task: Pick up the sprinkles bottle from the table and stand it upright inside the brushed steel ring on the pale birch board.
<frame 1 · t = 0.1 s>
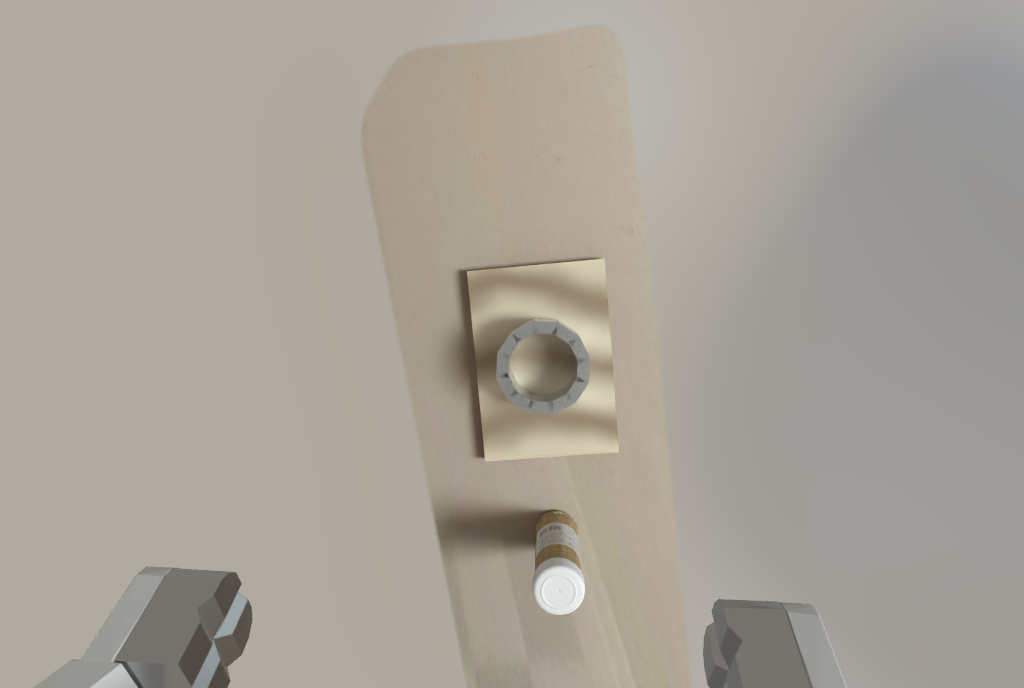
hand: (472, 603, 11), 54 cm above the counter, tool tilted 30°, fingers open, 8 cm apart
birch board: (543, 360, 65), on the counter
steel ring: (543, 362, 63), resting on birch board
sprinkles bottle: (556, 528, 67), on the counter
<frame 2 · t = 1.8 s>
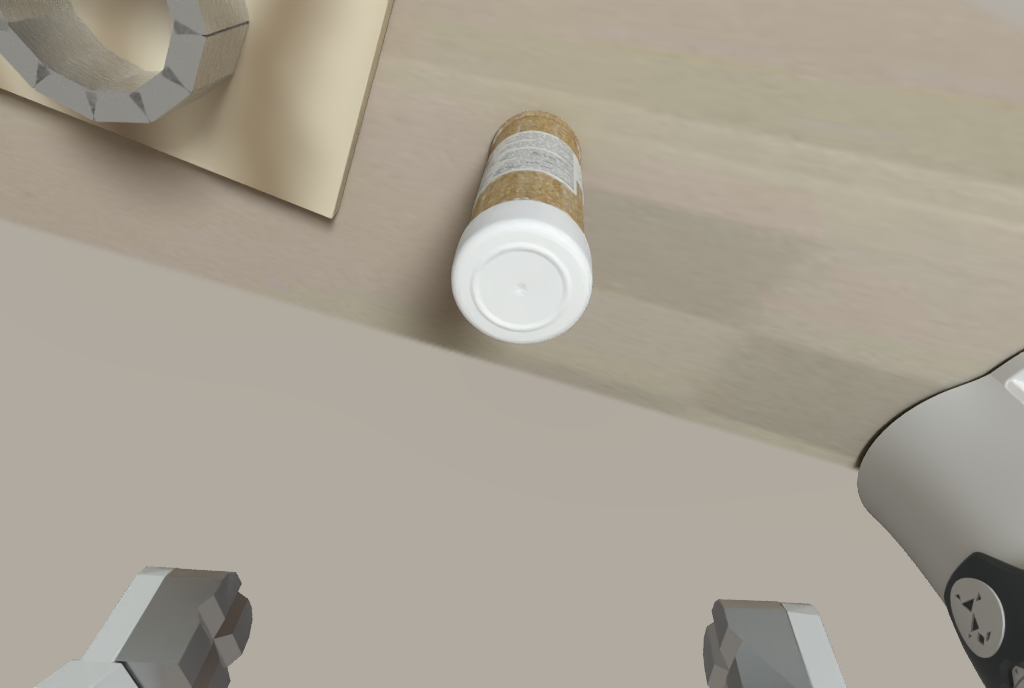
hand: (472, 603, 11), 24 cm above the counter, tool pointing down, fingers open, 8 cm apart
sprinkles bottle: (535, 153, 31), on the counter
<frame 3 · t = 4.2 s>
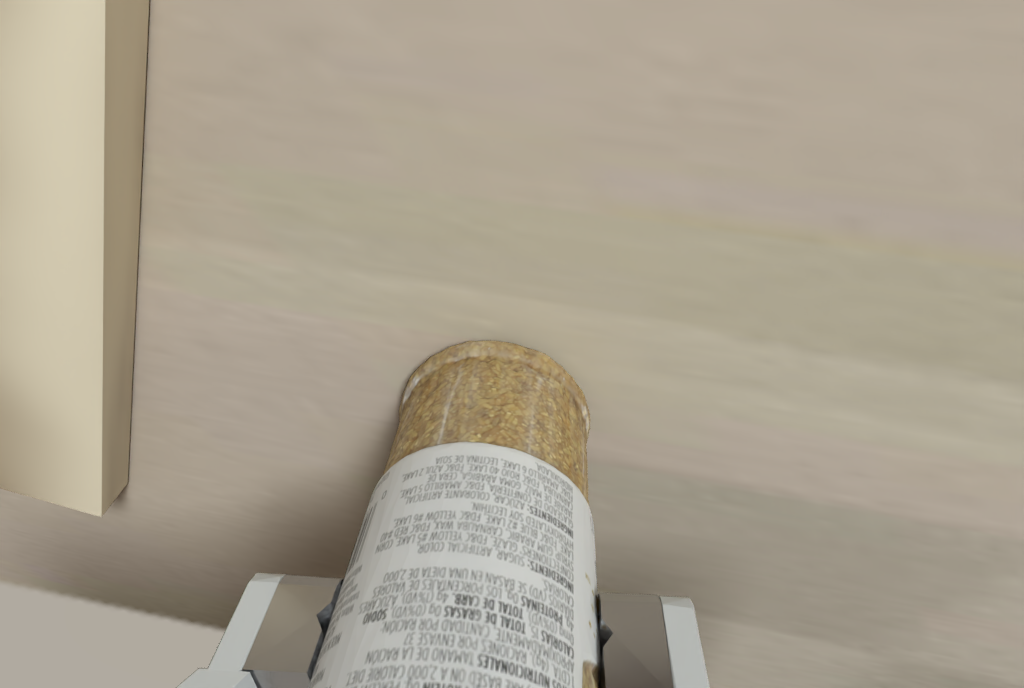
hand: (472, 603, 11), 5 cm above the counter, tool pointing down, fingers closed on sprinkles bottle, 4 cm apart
sprinkles bottle: (496, 403, 15), on the counter, touching gripper
when the fingers open (8 cm above the counter, at t = 10.7 s): sprinkles bottle moves 1 cm, resting on birch board.
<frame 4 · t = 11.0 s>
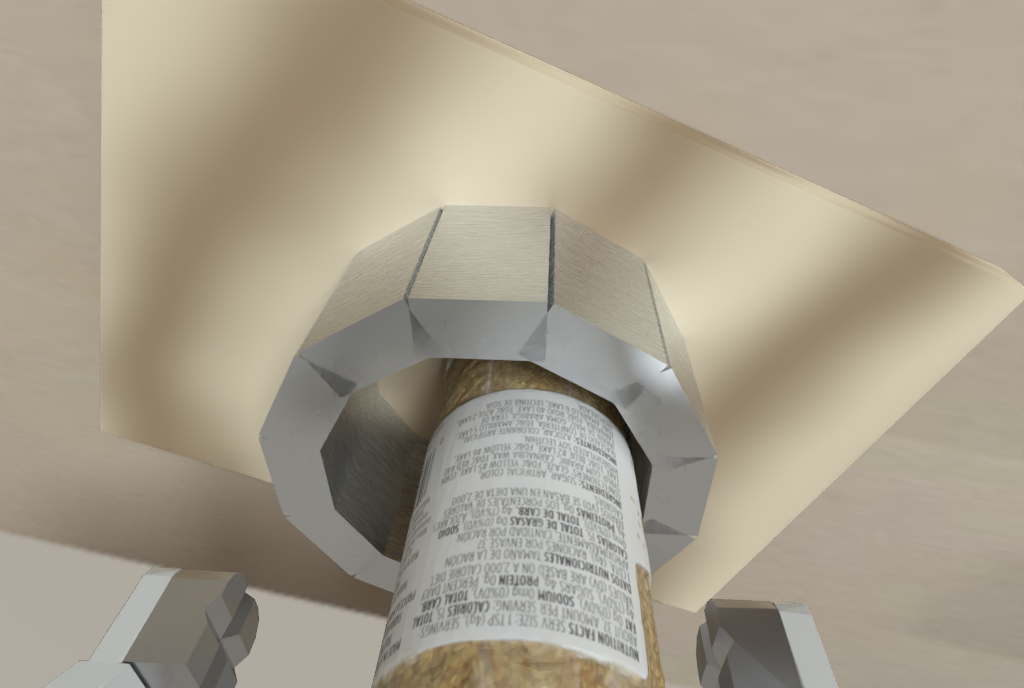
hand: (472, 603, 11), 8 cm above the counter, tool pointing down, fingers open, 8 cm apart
birch board: (504, 344, 17), on the counter
steel ring: (500, 371, 16), resting on birch board
sprinkles bottle: (531, 367, 16), point 1 cm above the counter, touching birch board
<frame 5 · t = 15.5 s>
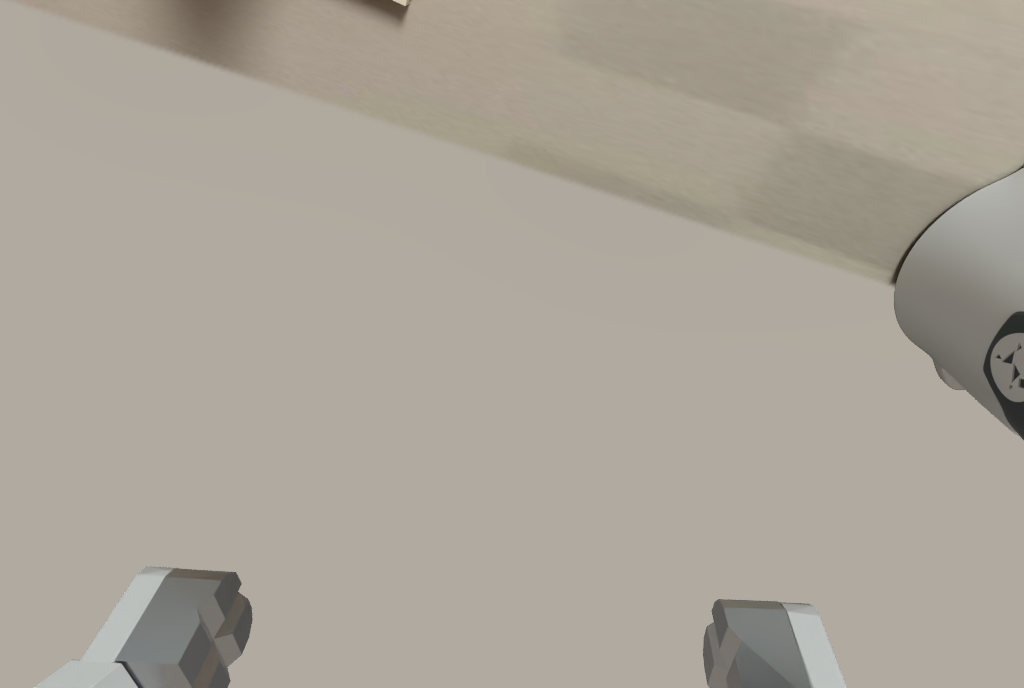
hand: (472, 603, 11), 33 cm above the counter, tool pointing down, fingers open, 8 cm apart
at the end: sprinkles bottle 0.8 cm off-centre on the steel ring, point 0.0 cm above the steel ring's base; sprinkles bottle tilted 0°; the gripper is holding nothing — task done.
